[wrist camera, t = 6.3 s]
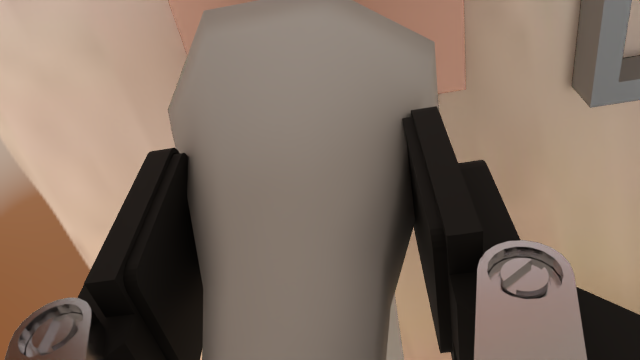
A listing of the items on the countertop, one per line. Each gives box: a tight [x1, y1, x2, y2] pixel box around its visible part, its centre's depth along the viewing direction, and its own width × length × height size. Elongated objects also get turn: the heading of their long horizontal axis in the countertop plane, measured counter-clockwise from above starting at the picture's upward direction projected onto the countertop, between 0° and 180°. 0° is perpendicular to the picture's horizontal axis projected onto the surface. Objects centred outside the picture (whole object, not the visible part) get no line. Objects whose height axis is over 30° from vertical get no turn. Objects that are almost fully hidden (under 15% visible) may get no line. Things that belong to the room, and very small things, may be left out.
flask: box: [168, 0, 439, 360], centre depth 10 cm, size 7×7×10 cm
